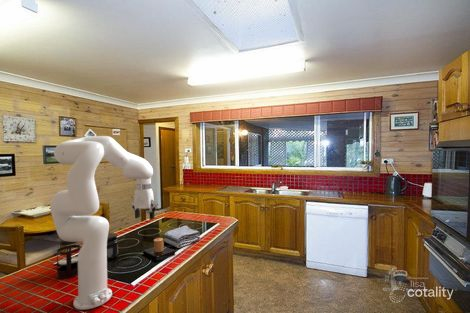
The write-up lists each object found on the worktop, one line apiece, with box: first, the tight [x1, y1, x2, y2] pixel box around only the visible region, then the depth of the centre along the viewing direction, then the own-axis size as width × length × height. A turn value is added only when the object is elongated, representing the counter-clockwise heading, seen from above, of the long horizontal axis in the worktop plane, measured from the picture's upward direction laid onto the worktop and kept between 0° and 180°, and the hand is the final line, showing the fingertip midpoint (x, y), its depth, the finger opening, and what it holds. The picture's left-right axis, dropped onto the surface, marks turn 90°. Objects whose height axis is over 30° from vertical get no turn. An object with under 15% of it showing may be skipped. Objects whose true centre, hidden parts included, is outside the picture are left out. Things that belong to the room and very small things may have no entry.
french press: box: [56, 237, 83, 280], centre depth 111 cm, size 12×9×23 cm
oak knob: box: [153, 237, 165, 252], centre depth 131 cm, size 5×5×6 cm
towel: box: [163, 225, 201, 249], centre depth 150 cm, size 15×18×8 cm
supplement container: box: [107, 232, 119, 262], centre depth 128 cm, size 10×10×12 cm
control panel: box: [142, 245, 176, 263], centre depth 131 cm, size 14×11×3 cm
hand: (144, 218), depth 130 cm, fingers open, 9 cm apart
